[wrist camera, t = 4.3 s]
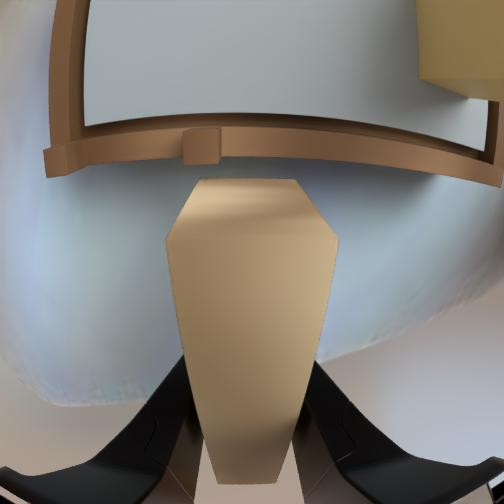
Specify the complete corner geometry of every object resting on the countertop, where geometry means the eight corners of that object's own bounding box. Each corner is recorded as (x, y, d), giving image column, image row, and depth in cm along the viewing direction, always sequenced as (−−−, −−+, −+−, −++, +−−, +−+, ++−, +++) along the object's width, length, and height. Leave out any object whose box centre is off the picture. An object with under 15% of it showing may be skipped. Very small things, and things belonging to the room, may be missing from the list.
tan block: (295, 179, 7) (339, 240, 4) (270, 417, 12) (275, 483, 9) (199, 178, 7) (165, 240, 4) (219, 417, 12) (217, 484, 9)
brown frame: (446, -9, 7) (511, -29, 2) (446, 163, 11) (520, 198, 7) (116, -43, 6) (66, -89, 2) (104, 149, 11) (32, 180, 6)
